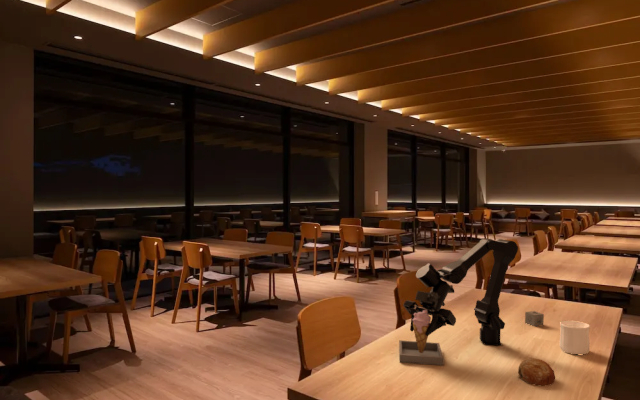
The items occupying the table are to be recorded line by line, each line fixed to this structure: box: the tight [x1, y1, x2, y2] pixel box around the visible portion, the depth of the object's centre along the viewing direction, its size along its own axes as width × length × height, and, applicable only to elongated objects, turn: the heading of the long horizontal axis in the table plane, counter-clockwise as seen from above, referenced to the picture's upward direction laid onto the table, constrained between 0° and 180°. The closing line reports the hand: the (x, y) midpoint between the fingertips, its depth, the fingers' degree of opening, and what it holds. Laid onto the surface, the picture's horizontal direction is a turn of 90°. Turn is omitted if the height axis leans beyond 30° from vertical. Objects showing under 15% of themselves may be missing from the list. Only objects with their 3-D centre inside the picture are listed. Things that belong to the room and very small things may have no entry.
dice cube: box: [524, 310, 545, 327], centre depth 185 cm, size 5×5×5 cm
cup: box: [559, 319, 591, 355], centre depth 154 cm, size 10×10×10 cm
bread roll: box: [517, 357, 556, 387], centre depth 131 cm, size 10×10×8 cm
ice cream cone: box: [412, 309, 432, 353], centre depth 148 cm, size 7×6×15 cm
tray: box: [398, 340, 444, 367], centre depth 148 cm, size 14×14×2 cm
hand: (418, 333), depth 147 cm, fingers closed on ice cream cone, 6 cm apart
